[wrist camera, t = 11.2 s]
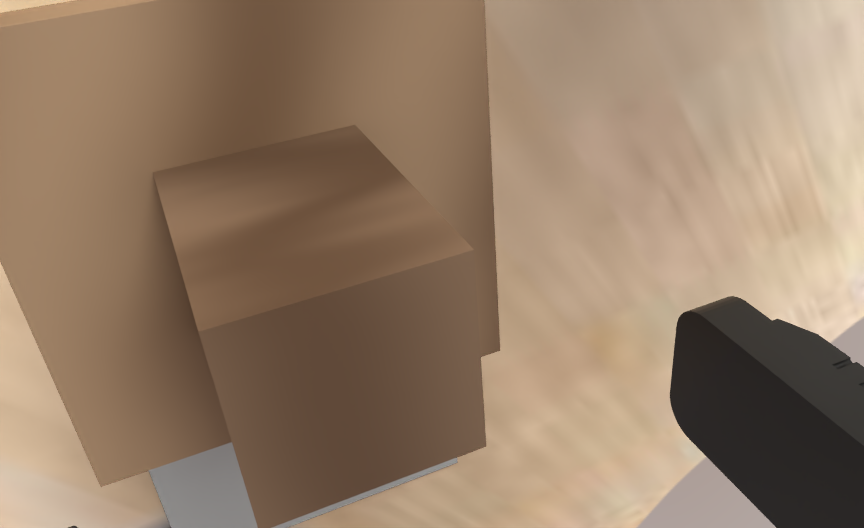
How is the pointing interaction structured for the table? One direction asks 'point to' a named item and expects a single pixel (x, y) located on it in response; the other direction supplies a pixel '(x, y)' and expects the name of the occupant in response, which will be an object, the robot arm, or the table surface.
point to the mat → (226, 491)
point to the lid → (255, 233)
